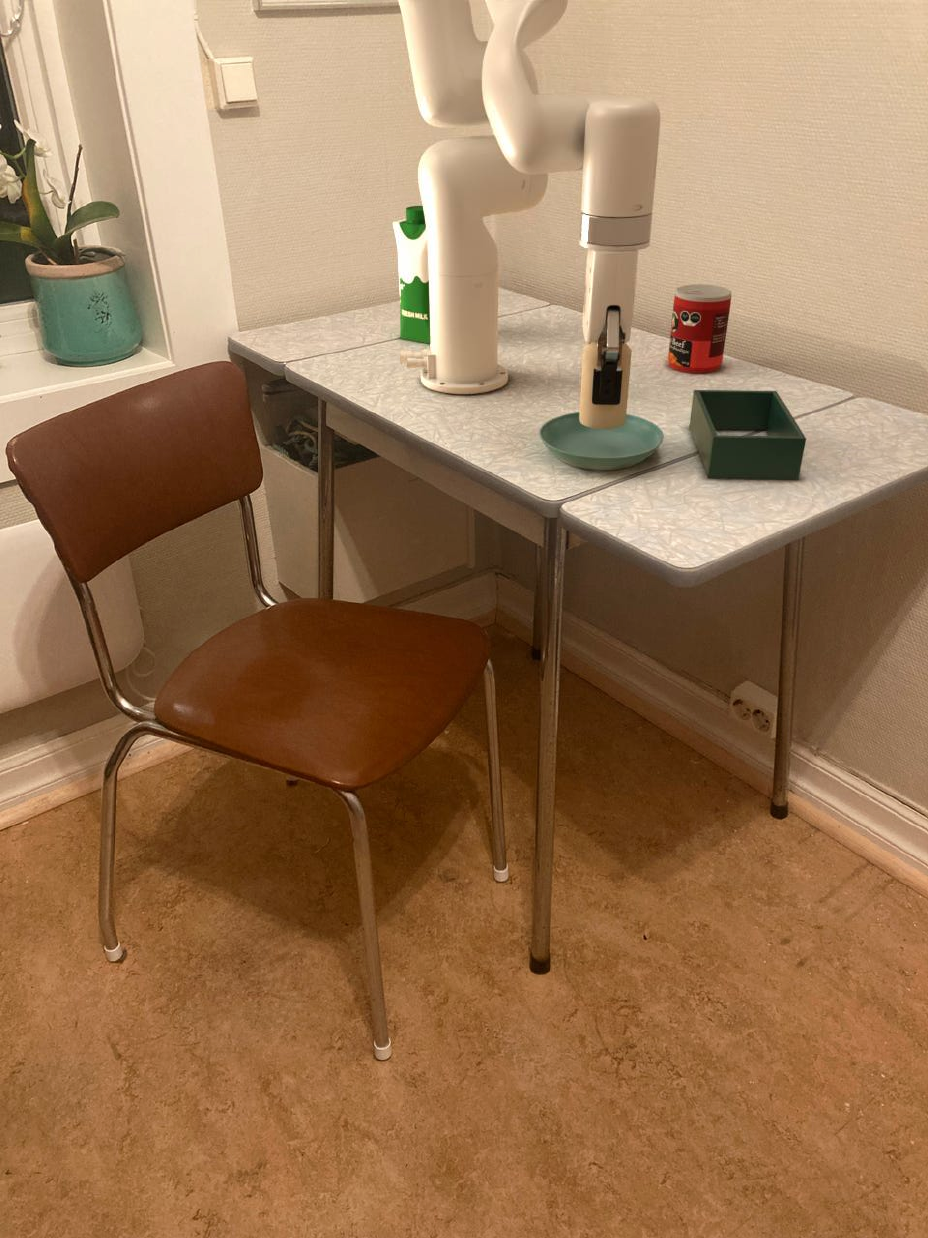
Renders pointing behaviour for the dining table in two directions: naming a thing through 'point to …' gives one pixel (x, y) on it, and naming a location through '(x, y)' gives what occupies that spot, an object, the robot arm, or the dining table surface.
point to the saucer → (600, 442)
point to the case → (746, 453)
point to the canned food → (699, 328)
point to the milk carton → (413, 275)
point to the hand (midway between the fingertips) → (604, 392)
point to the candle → (588, 411)
